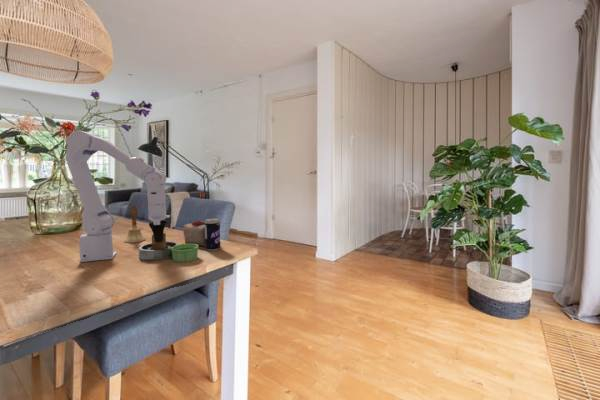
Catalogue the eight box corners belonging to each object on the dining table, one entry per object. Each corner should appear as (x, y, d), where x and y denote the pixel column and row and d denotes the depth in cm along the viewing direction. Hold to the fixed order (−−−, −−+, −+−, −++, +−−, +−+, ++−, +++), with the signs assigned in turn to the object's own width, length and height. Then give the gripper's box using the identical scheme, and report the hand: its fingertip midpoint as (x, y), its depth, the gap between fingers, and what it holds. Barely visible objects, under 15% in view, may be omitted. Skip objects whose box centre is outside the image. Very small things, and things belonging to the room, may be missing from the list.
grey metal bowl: (137, 262, 99) (136, 252, 99) (141, 252, 111) (140, 243, 110) (179, 257, 104) (178, 248, 104) (178, 248, 116) (178, 240, 116)
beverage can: (211, 252, 111) (210, 221, 110) (202, 249, 114) (201, 219, 113) (223, 249, 116) (222, 219, 114) (214, 246, 119) (213, 217, 118)
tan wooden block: (152, 252, 106) (151, 235, 105) (152, 251, 107) (152, 234, 107) (165, 251, 107) (165, 234, 107) (166, 250, 109) (165, 233, 108)
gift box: (180, 244, 124) (179, 221, 123) (195, 240, 131) (195, 218, 130) (203, 248, 117) (203, 224, 116) (218, 243, 124) (217, 220, 123)
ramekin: (178, 264, 97) (178, 251, 96) (167, 259, 103) (166, 247, 103) (203, 258, 104) (203, 246, 103) (191, 253, 110) (190, 242, 109)
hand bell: (136, 237, 135) (133, 203, 133) (149, 239, 132) (147, 204, 130) (119, 242, 127) (117, 205, 125) (133, 243, 124) (131, 206, 123)
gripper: (168, 205, 100) (170, 244, 102) (169, 201, 114) (171, 235, 115) (145, 207, 98) (148, 246, 99) (149, 202, 111) (151, 237, 112)
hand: (159, 241), depth 107 cm, fingers closed on tan wooden block, 2 cm apart
